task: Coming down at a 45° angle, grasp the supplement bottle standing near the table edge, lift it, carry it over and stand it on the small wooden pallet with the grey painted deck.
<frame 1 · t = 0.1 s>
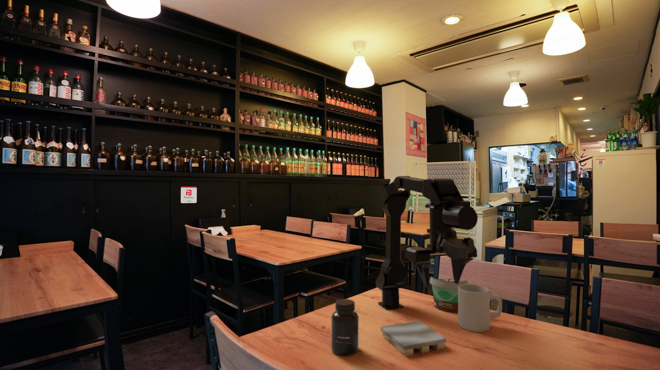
hand: (441, 285, 88), 15 cm above the table, tool pointing down, fingers open, 9 cm apart
supplement bottle: (345, 350, 83), on the table
mug: (480, 326, 97), on the table
food container: (448, 310, 110), on the table
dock: (412, 342, 87), on the table
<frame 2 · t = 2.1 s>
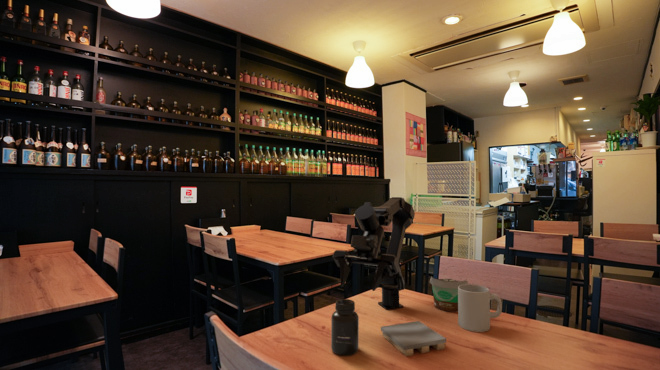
hand: (356, 287, 90), 13 cm above the table, tool tilted 45°, fingers open, 9 cm apart
nothing on the table moved.
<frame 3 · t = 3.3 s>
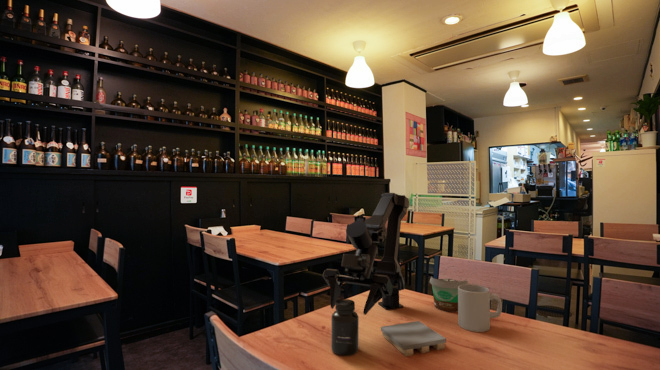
hand: (347, 310, 85), 9 cm above the table, tool tilted 45°, fingers open, 9 cm apart
nothing on the table moved.
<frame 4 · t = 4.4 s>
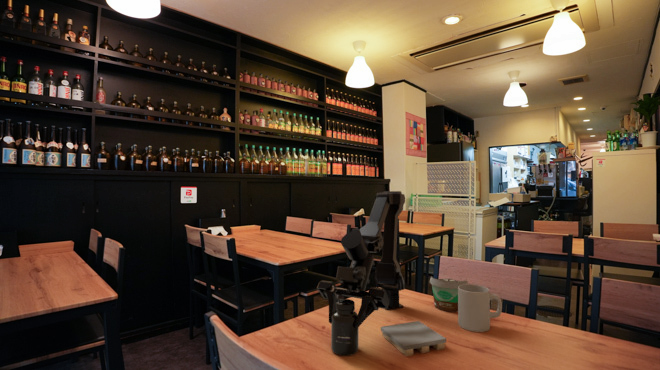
hand: (342, 325, 82), 7 cm above the table, tool tilted 45°, fingers closed on supplement bottle, 7 cm apart
supplement bottle: (345, 350, 83), on the table, touching gripper
everything else where it was.
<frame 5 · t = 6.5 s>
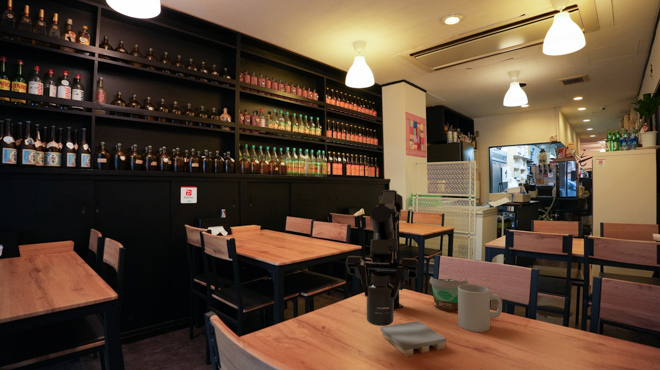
hand: (379, 296, 83), 13 cm above the table, tool tilted 45°, fingers closed on supplement bottle, 7 cm apart
supplement bottle: (380, 321, 85), point 6 cm above the table, touching gripper
everything else where it was.
when the fingers open (10 cm above the table, at t = 8.3 s): supplement bottle drops 1 cm, resting on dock.
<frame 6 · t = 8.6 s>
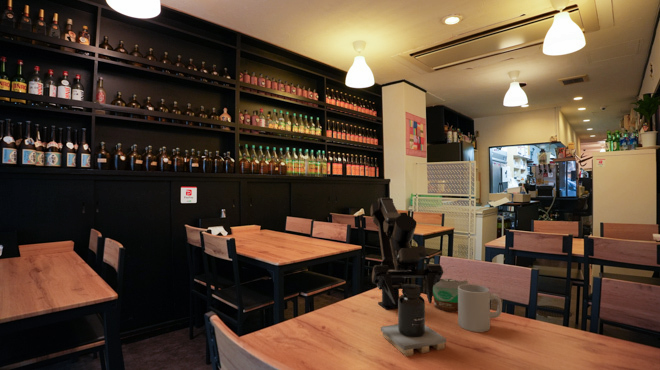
hand: (413, 303, 86), 11 cm above the table, tool tilted 45°, fingers open, 9 cm apart
supplement bottle: (411, 332, 87), point 2 cm above the table, touching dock
everything else where it was.
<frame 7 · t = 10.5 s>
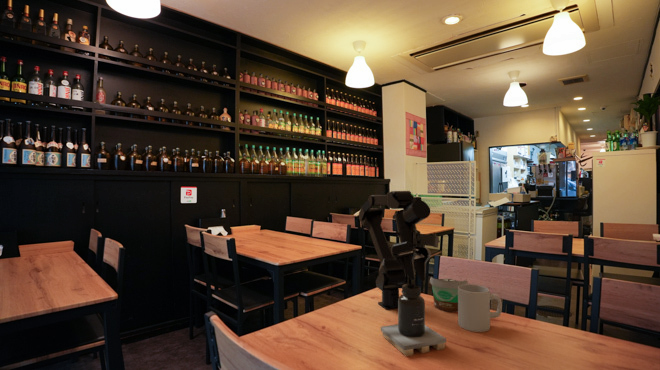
hand: (418, 280, 98), 13 cm above the table, tool tilted 25°, fingers open, 9 cm apart
nothing on the table moved.
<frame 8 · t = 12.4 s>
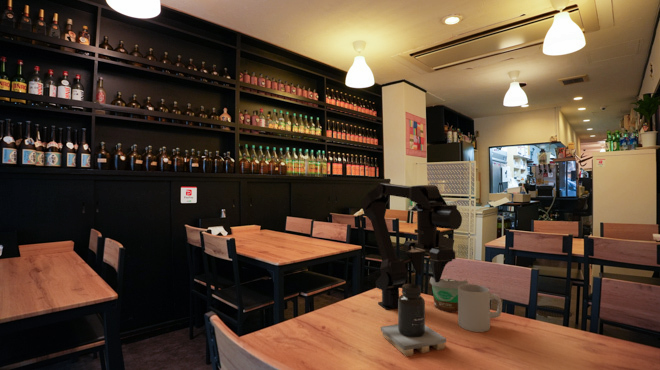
hand: (427, 278, 101), 13 cm above the table, tool pointing down, fingers open, 9 cm apart
nothing on the table moved.
at the end: supplement bottle inside the target area on the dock (0.1 cm from its centre), point 2.3 cm above the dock's base; supplement bottle tilted 0°; the gripper is holding nothing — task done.
